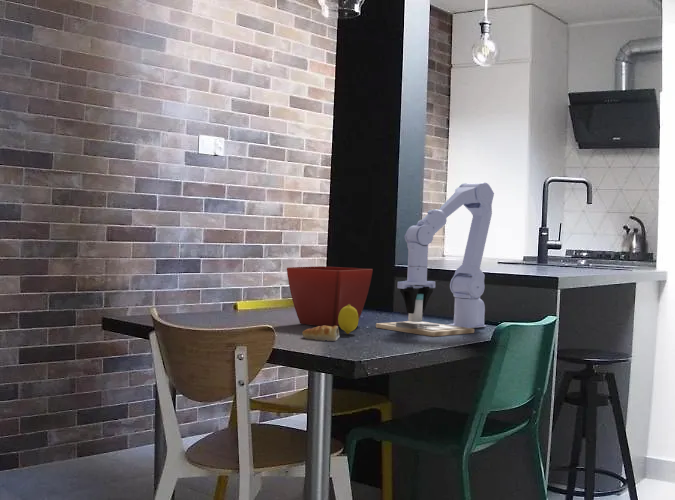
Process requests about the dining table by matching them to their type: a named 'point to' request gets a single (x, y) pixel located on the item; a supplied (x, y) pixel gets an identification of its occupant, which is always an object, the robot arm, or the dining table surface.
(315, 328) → the pastry
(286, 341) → the dining table surface
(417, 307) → the white jar teal lid
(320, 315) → the plant pot
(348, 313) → the lemon
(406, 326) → the clipboard
